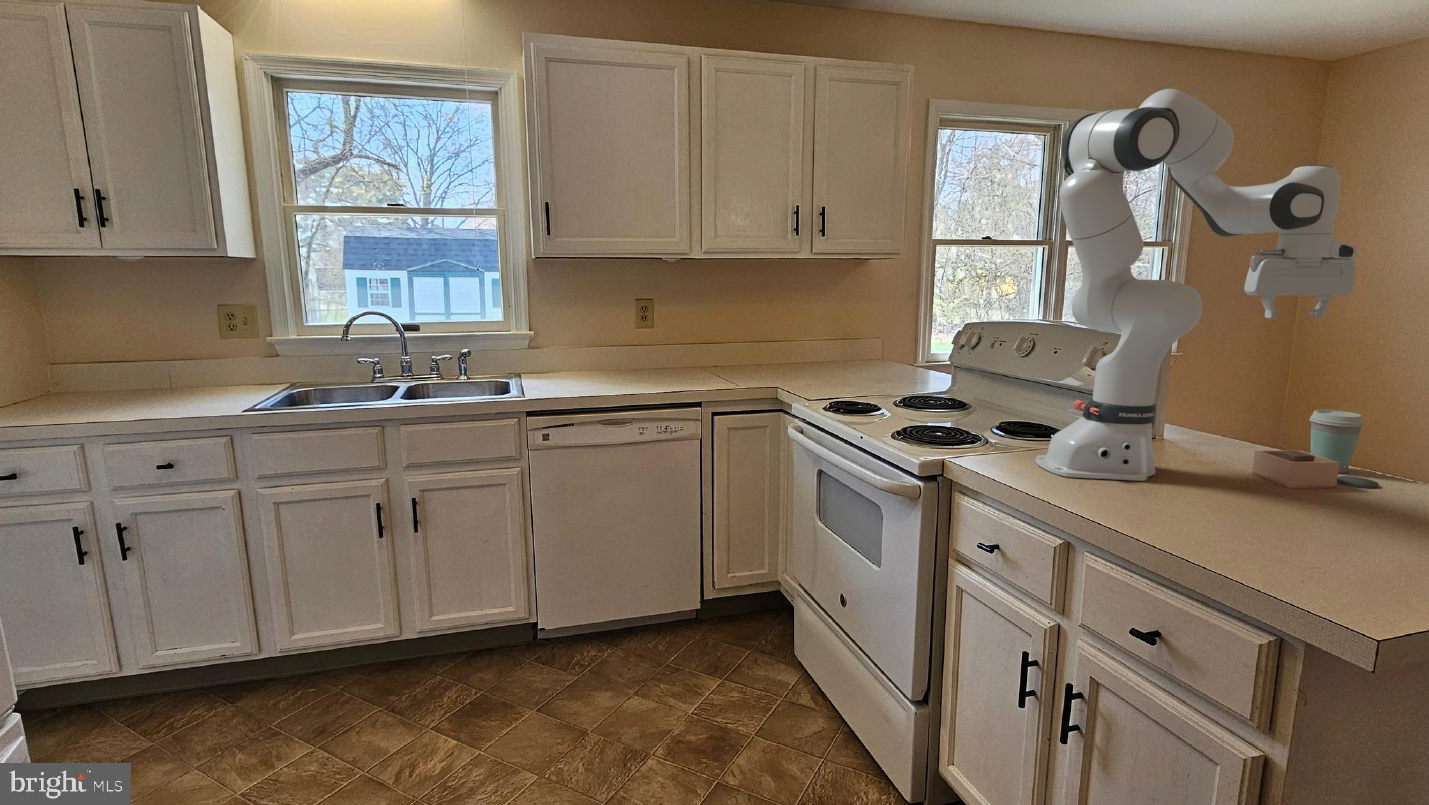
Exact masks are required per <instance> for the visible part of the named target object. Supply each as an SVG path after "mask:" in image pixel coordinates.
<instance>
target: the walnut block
mask: <svg viewBox="0 0 1429 805" xmlns="http://www.w3.org/2000/svg"><path fill="white" fill-rule="evenodd" d="M1301 451H1302V450H1301ZM1301 451H1278V455H1277V457H1280V458H1283V459H1286V460H1289V461H1292V462H1314V458H1315V456H1314V455H1310V454H1307V453H1308V452H1307V453H1304V452H1305V451H1304V452H1301Z"/></svg>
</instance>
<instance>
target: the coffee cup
mask: <svg viewBox="0 0 1429 805" xmlns="http://www.w3.org/2000/svg"><path fill="white" fill-rule="evenodd" d="M1309 421H1310V453H1311V454H1314V455H1317V456H1320V457H1324V458H1327V459H1330V460H1333V461H1337V462H1340V465H1339V471H1338V474H1346V473H1347V472H1348V471H1349V467H1350V464H1351V461H1352V458H1353V455H1354V452H1355V449H1356V445H1357V443H1358V440H1359V437H1360V433H1361V431H1362V427H1365V425H1364V420H1363V416H1362V415H1361V414H1360V413H1355V412H1350V411H1344V410H1334V409H1316V410H1314V411H1313V413H1312V414H1311V416H1310V418H1309ZM1344 466H1345V467H1344Z"/></svg>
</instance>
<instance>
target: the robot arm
mask: <svg viewBox="0 0 1429 805" xmlns="http://www.w3.org/2000/svg"><path fill="white" fill-rule="evenodd" d="M1234 136H1235V133H1234V131H1233V129H1232V128H1231V126H1230V125H1229V123H1228V122H1227V121H1226V120H1225V119H1224V118H1223V117H1221V116H1220V115H1219V114H1218V113H1217V112H1215V111H1214V110H1213V109H1212V108H1210V107H1209V106H1207V105H1206V104H1205V103H1204V102H1202V101H1200V100H1199V99H1197V98H1195V97H1193V96H1192V95H1190V94H1187V92H1186V93H1185V92H1184V91H1181V90H1179V89H1176V88H1165V89H1161V90H1158V91H1156V92H1154V93H1152V94H1151V95H1149V96H1148V97H1147V98H1146V99H1145V100H1144V101H1143V102H1142V103H1141V104H1140V105H1139V107H1138V108H1114V109H1109V110H1105V111H1101V112H1092V113H1089V114H1086V115H1083V116H1082V117H1080V118H1078V119H1076V120H1075V121H1073V122H1072V123H1071V124H1070V125H1069V126H1068V127H1067V129H1066V130H1065V132H1064V135H1063V137H1062V141H1061V155H1062V159H1063V160H1062V161H1063V169H1064V171H1065V172H1066V174H1067V175H1068V177H1066V179H1064V181H1063V183H1062V184H1061V186H1060V189H1059V200H1060V207H1061V213H1062V216H1063V219H1064V223H1065V227H1066V230H1067V231H1068V235H1069V237H1070V239H1071V240H1070V241H1071V242H1072V244H1073V247H1074V249H1075V253H1076V255H1077V258H1078V260H1079V263H1080V264H1079V265H1080V266H1081V271H1082V272H1081V273H1082V283H1081V286H1080V287H1079V288H1078V289H1077V291H1076V292H1075V294H1074V296H1073V299H1072V301H1071V311H1072V316H1073V318H1074V320H1075V321H1076V322H1077V323H1078V324H1079V325H1081V326H1083V327H1086V328H1088V329H1091V330H1095V331H1098V332H1103V333H1113V334H1121V335H1120V339H1119V341H1118V343H1117V346H1116V347H1115V349H1114V350H1113V351H1112V352H1111V353H1108V354H1106V355H1104V356H1102V357H1101V358H1100V359H1099V360H1098V362H1097V364H1096V365H1095V371H1094V372H1095V373H1094V380H1093V381H1094V382H1093V389H1092V390H1093V391H1092V398H1091V399H1090V400H1089V401H1088V402H1087V403H1086V402H1084V401H1081V400H1079V399H1077V400H1074V402H1073V404H1072V408H1073V409H1074V410H1078V411H1079V412H1083V413H1082V417H1080V418H1078V419H1076V420H1075V421H1074V422H1072V423H1071V424H1069V425H1068V426H1066V427H1064V428H1063V429H1062V428H1061V429H1060V430H1059V431H1057V432H1056V433H1054V434H1053V436H1052V437H1051V439H1050V441H1049V445H1048V450H1047V453H1046V454H1040V455H1037V456H1036V457H1035V463H1036V464H1037V465H1038V466H1039V467H1041V468H1042V469H1044V470H1046V471H1048V472H1050V473H1053V474H1055V475H1058V476H1063V477H1065V478H1066V477H1067V478H1080V479H1081V478H1082V479H1097V480H1098V479H1104V480H1117V481H1119V480H1120V481H1121V480H1122V481H1137V482H1138V481H1140V482H1141V481H1142V482H1145V481H1147V480H1148V477H1151V476H1154V475H1155V474H1156V473H1157V472H1156V468H1155V463H1154V458H1153V441H1152V438H1153V429H1154V426H1155V422H1156V414H1157V412H1156V411H1157V405H1156V403H1155V399H1156V390H1157V384H1158V378H1159V373H1160V368H1161V365H1162V363H1163V360H1164V359H1165V357H1166V355H1167V353H1168V351H1169V350H1170V349H1171V347H1172V346H1173V344H1175V343H1176V342H1177V341H1178V340H1180V338H1181V337H1183V336H1185V335H1186V334H1188V333H1190V332H1191V331H1193V329H1194V328H1195V327H1196V325H1197V324H1198V323H1199V321H1200V319H1201V317H1202V313H1203V300H1202V297H1201V295H1200V292H1199V291H1198V290H1197V289H1196V288H1195V287H1193V286H1192V285H1189V284H1185V283H1182V282H1177V281H1173V280H1169V279H1139V278H1136V277H1135V276H1134V274H1133V272H1132V269H1131V268H1132V266H1133V265H1134V264H1135V263H1136V262H1137V261H1138V260H1139V258H1140V256H1141V255H1142V253H1143V250H1144V246H1145V244H1144V241H1143V240H1144V239H1143V237H1142V233H1141V232H1140V228H1139V227H1138V224H1137V221H1136V219H1135V215H1134V213H1133V210H1132V208H1131V205H1130V202H1129V200H1128V198H1127V197H1126V194H1125V191H1124V176H1125V172H1131V171H1132V172H1140V171H1144V170H1148V169H1151V168H1154V167H1156V166H1158V165H1160V164H1161V163H1164V164H1165V165H1166V166H1167V172H1168V175H1169V177H1170V179H1171V180H1172V182H1173V183H1174V185H1176V186H1177V187H1178V188H1179V189H1180V191H1181V192H1182V193H1184V195H1185V196H1186V197H1187V198H1188V199H1189V200H1190V201H1191V202H1192V203H1193V204H1194V205H1195V207H1197V208H1198V210H1199V211H1200V212H1201V213H1202V216H1203V217H1204V219H1205V220H1206V223H1207V225H1208V226H1209V227H1210V228H1209V229H1211V230H1212V231H1213V232H1214V233H1215V235H1216V234H1217V235H1218V236H1220V237H1227V238H1229V237H1235V236H1243V235H1251V234H1256V235H1257V234H1267V233H1268V234H1270V233H1278V238H1277V245H1276V249H1261V250H1258V252H1255V253H1254V254H1253V255H1252V256H1251V257H1250V263H1249V264H1250V265H1249V268H1248V271H1247V273H1246V274H1247V275H1246V279H1245V282H1244V288H1243V290H1244V292H1245V293H1246V295H1248V296H1261V299H1260V301H1261V304H1262V306H1263V308H1264V311H1265V312H1264V317H1265V319H1266V318H1267V319H1278V317H1279V314H1280V309H1276V307H1275V304H1274V302H1275V301H1276V299H1277V296H1317V297H1316V298H1317V299H1316V301H1318V303H1317V304H1316V306H1315V307H1314V308H1310V311H1309V312H1310V314H1309V317H1310V318H1314V319H1323V318H1324V316H1325V310H1326V309H1327V308H1328V307H1329V305H1330V304H1331V303H1332V302H1333V299H1334V296H1349V295H1350V294H1351V293H1352V291H1353V290H1354V288H1355V284H1356V277H1357V263H1356V262H1355V260H1354V259H1355V258H1357V256H1358V253H1359V248H1358V247H1356V246H1354V245H1351V244H1347V243H1345V242H1342V241H1340V240H1337V239H1335V233H1336V232H1335V225H1334V223H1335V219H1336V217H1337V215H1338V212H1339V207H1340V199H1341V187H1342V186H1341V176H1340V172H1339V170H1338V169H1336V168H1334V167H1333V166H1329V165H1322V164H1321V165H1320V164H1319V165H1318V164H1310V165H1309V164H1308V165H1301V166H1298V167H1296V168H1293V169H1292V171H1291V173H1290V174H1288V175H1287V176H1286V177H1284V178H1282V179H1280V180H1277V181H1275V182H1273V183H1272V182H1271V183H1265V184H1258V185H1249V186H1232V185H1228V184H1226V183H1225V182H1224V181H1223V180H1221V179H1220V177H1218V175H1217V174H1216V173H1215V172H1216V171H1217V170H1218V169H1220V167H1222V165H1223V164H1224V163H1226V160H1227V159H1228V158H1229V156H1230V154H1231V153H1232V152H1231V151H1232V149H1233V148H1234V143H1235V138H1234Z"/></svg>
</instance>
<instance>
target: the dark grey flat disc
mask: <svg viewBox="0 0 1429 805" xmlns="http://www.w3.org/2000/svg"><path fill="white" fill-rule="evenodd" d="M1337 483H1338V484H1340V485H1344V486H1348V487H1352V488H1357V489H1358V488H1359V489H1369V490H1370V489H1371V490H1372V489H1373V488H1374V489H1378V486H1379V482H1377V481H1375V480H1372V479H1368V478H1363V477H1358V476H1346V475H1345V476H1342V475H1341V476H1338V477H1337Z"/></svg>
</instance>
